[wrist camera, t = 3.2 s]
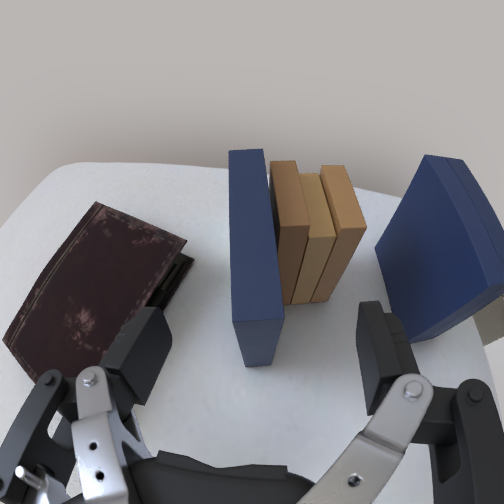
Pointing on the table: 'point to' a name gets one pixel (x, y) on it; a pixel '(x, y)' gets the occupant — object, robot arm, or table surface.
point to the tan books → (313, 229)
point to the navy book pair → (441, 250)
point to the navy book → (253, 259)
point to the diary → (94, 291)
